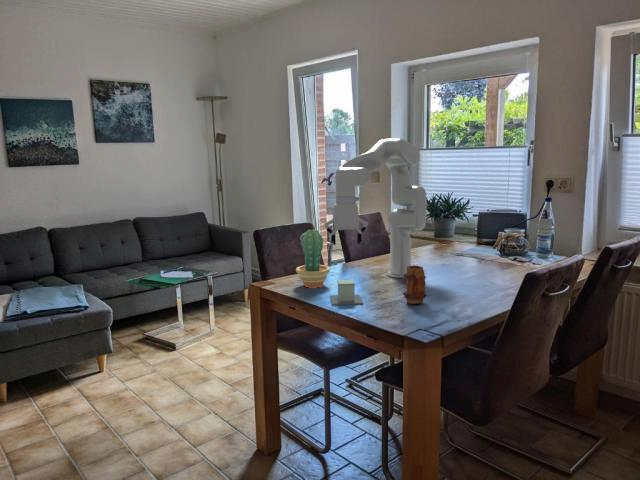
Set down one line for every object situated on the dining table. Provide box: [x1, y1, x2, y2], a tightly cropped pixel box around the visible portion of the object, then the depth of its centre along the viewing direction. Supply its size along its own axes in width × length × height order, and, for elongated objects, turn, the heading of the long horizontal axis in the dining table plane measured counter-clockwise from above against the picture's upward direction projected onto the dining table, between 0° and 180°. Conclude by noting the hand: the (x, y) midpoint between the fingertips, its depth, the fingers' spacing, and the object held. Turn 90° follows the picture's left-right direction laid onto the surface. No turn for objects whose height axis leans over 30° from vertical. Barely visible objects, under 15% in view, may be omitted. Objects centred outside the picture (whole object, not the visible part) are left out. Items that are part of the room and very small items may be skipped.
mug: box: [402, 265, 428, 305], centre depth 190 cm, size 15×8×15 cm, turn 5°
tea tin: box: [336, 279, 356, 302], centre depth 198 cm, size 6×6×7 cm
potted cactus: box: [295, 228, 331, 289], centre depth 220 cm, size 15×15×25 cm
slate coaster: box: [329, 294, 364, 306], centre depth 198 cm, size 12×12×1 cm
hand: (346, 244), depth 197 cm, fingers open, 9 cm apart
